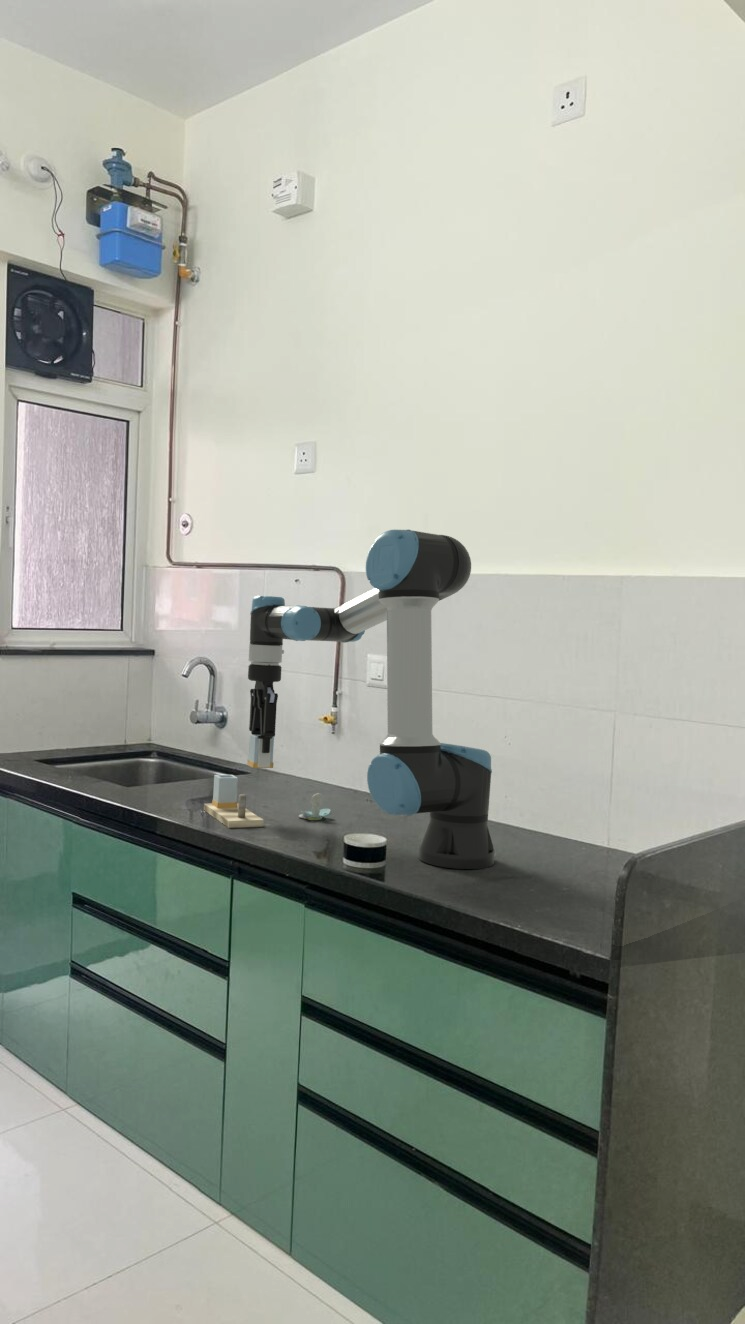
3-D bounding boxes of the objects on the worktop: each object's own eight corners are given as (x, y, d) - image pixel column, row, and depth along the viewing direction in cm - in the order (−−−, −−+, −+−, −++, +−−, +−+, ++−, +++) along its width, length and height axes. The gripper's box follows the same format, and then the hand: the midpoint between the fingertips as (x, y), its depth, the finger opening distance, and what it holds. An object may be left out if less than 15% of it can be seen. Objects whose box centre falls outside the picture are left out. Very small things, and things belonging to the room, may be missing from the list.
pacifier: (293, 818, 237) (306, 822, 232) (294, 791, 237) (307, 795, 232) (319, 816, 241) (333, 820, 236) (320, 789, 241) (334, 793, 236)
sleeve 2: (273, 767, 230) (274, 737, 230) (253, 768, 228) (254, 737, 228) (266, 764, 235) (268, 734, 234) (247, 764, 233) (249, 734, 232)
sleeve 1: (237, 807, 236) (238, 777, 236) (217, 808, 234) (219, 778, 234) (231, 803, 240) (232, 774, 240) (211, 804, 238) (213, 774, 238)
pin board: (263, 826, 224) (264, 797, 223) (228, 827, 220) (230, 798, 220) (236, 809, 242) (237, 782, 242) (203, 809, 238) (205, 782, 238)
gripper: (293, 666, 224) (288, 771, 225) (269, 662, 240) (264, 759, 241) (260, 665, 221) (255, 771, 222) (238, 661, 237) (233, 759, 238)
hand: (260, 765), depth 231 cm, fingers closed on sleeve 2, 5 cm apart
